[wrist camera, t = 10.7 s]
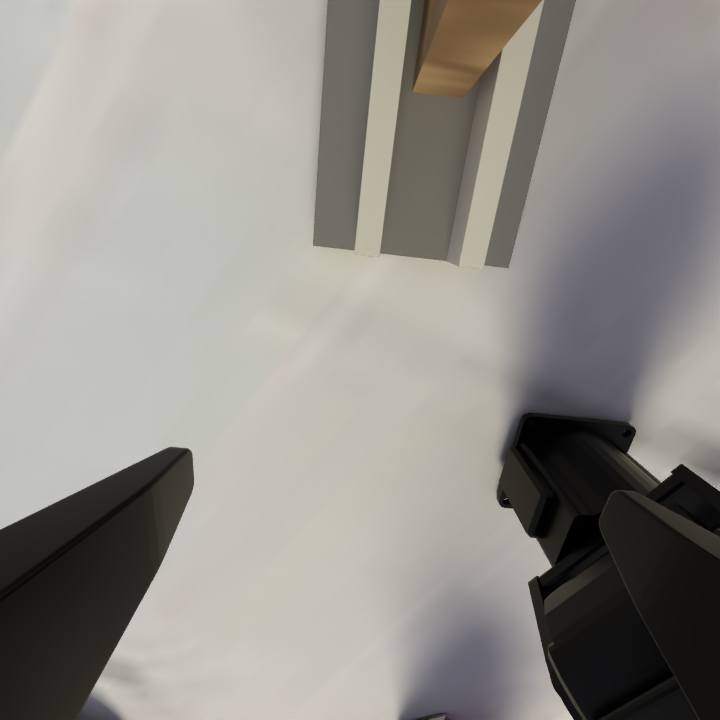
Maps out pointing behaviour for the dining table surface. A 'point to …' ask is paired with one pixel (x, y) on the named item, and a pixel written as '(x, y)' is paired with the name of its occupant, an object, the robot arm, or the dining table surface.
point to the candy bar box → (436, 717)
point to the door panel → (464, 41)
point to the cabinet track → (428, 137)
